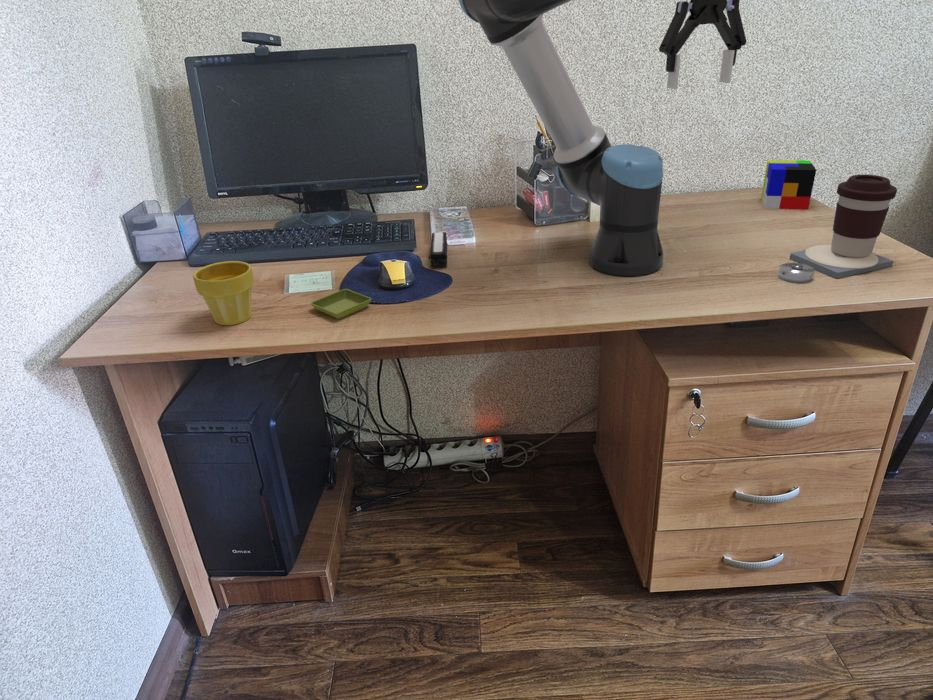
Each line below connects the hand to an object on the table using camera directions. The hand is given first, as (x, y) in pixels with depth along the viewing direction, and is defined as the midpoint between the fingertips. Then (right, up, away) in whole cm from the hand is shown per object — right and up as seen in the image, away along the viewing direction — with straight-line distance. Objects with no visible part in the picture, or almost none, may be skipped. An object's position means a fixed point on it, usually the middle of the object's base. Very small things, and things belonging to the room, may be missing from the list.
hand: (698, 85), depth 139 cm
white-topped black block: (-56, -36, +8) cm, 67 cm away
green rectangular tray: (-75, -50, -16) cm, 92 cm away
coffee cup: (+28, -38, -9) cm, 48 cm away
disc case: (+25, -40, -10) cm, 48 cm away
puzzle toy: (+32, -20, +27) cm, 46 cm away
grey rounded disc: (+14, -44, -15) cm, 48 cm away
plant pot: (-95, -52, -17) cm, 110 cm away
